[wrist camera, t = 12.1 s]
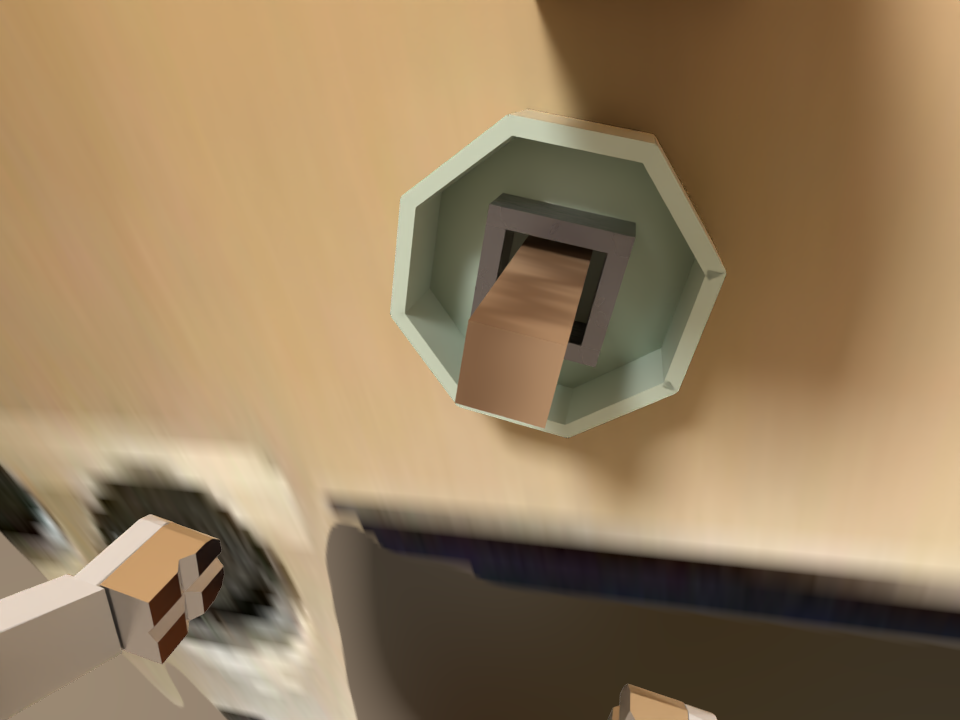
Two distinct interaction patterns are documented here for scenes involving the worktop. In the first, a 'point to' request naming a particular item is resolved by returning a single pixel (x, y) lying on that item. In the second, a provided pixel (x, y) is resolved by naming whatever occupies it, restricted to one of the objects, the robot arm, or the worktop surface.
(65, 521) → the worktop surface
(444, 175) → the octagonal green tray
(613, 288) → the square frame
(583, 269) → the wooden rectangular beam
